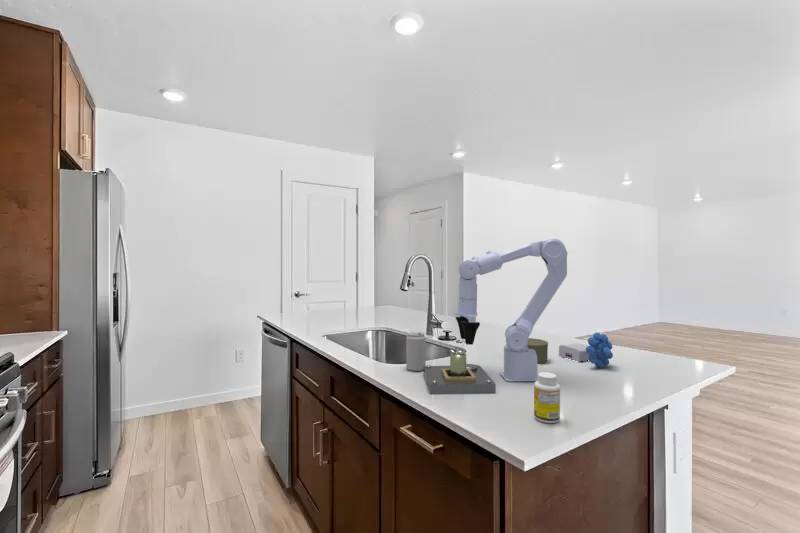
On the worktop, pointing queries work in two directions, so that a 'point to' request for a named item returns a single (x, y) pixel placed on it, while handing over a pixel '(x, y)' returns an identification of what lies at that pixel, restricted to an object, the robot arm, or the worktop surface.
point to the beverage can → (415, 351)
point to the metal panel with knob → (458, 380)
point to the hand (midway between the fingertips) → (466, 341)
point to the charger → (574, 352)
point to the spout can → (457, 363)
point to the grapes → (599, 350)
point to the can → (539, 349)
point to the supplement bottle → (547, 398)
